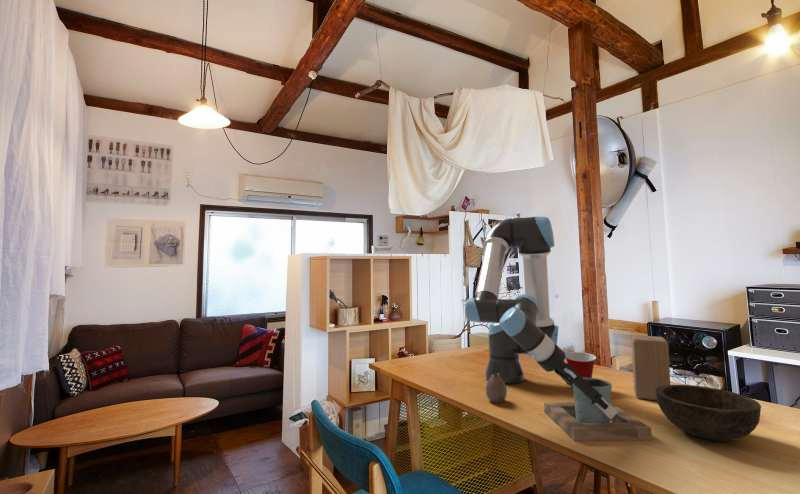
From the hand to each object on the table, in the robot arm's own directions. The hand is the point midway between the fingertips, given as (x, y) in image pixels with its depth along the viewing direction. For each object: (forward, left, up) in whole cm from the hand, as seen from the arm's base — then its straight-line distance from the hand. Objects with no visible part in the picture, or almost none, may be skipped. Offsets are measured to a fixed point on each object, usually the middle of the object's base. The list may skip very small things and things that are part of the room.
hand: (603, 408), depth 109 cm
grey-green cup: (0, -3, -5) cm, 6 cm away
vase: (-21, -25, -5) cm, 33 cm away
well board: (0, -3, -4) cm, 5 cm away
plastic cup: (-34, +10, -5) cm, 36 cm away
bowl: (+8, +23, -5) cm, 25 cm away
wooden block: (-23, +29, -5) cm, 37 cm away
